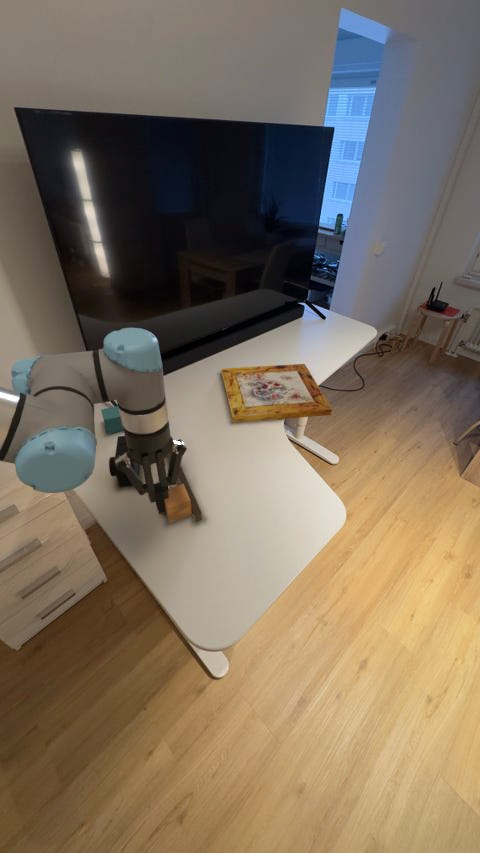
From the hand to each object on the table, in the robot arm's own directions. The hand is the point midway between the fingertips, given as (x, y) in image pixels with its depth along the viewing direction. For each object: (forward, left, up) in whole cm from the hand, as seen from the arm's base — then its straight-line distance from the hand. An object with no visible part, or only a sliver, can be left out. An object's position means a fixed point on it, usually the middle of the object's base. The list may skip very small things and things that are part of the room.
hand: (160, 507), depth 72 cm
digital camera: (-4, +16, -3) cm, 17 cm away
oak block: (+3, 0, -3) cm, 4 cm away
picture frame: (+45, +32, -3) cm, 55 cm away
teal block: (-4, +34, -3) cm, 34 cm away
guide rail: (+7, +16, -3) cm, 18 cm away
